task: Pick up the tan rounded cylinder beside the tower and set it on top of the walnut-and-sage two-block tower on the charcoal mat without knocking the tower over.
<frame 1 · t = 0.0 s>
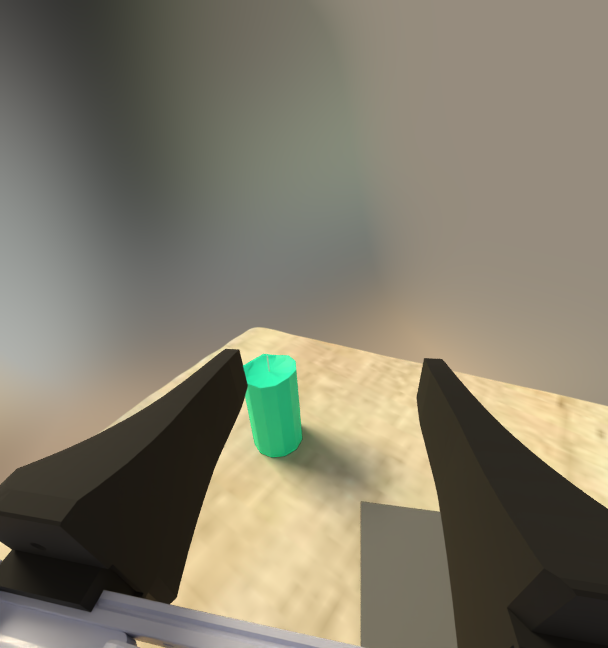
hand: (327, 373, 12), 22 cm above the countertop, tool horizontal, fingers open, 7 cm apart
candle: (278, 437, 36), on the countertop
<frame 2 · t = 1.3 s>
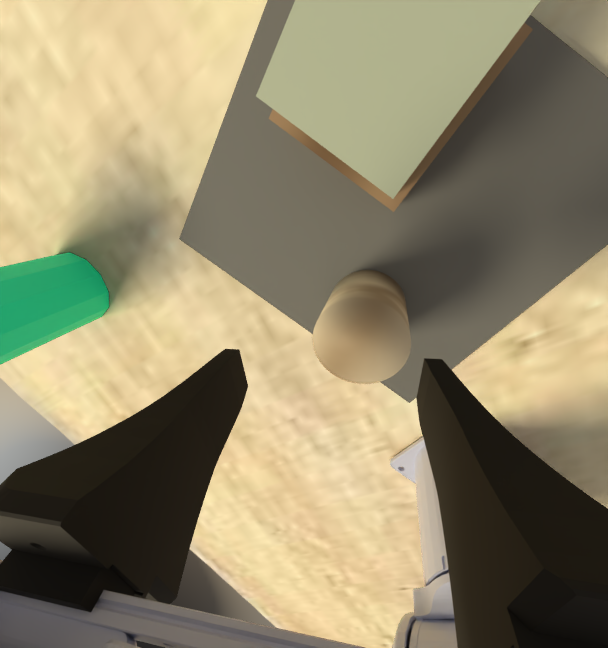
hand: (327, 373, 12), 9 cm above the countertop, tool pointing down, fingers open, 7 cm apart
candle: (82, 286, 25), on the countertop
tower top: (382, 80, 11), point 3 cm above the countertop, touching tower base
tan rounded cylinder: (366, 306, 19), resting on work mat
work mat: (379, 209, 17), on the countertop
tower base: (383, 98, 14), resting on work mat, touching tower top
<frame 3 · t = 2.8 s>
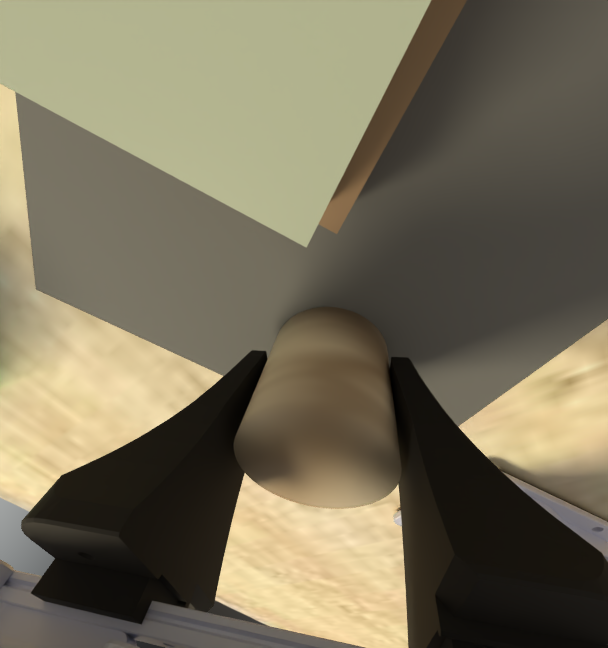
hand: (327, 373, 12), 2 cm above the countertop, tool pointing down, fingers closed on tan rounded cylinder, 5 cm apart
tan rounded cylinder: (329, 355, 12), resting on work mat, touching gripper
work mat: (323, 210, 10), on the countertop
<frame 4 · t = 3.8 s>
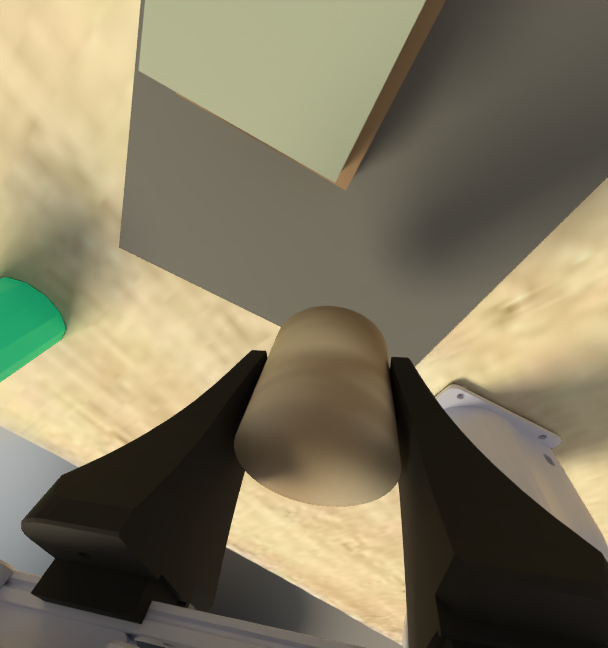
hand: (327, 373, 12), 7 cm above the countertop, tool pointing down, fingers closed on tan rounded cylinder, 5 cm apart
candle: (30, 310, 23), on the countertop
tower top: (304, 23, 9), point 3 cm above the countertop, touching tower base
tan rounded cylinder: (329, 354, 13), point 6 cm above the countertop, touching gripper
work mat: (334, 183, 14), on the countertop
tower base: (316, 47, 11), resting on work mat, touching tower top
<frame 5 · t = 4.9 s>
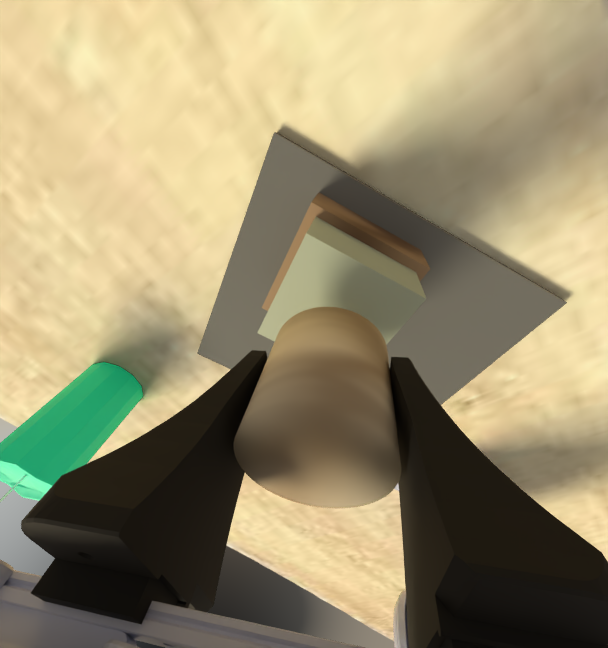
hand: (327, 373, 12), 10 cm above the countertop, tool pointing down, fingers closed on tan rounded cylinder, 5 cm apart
candle: (117, 382, 31), on the countertop
tower top: (338, 290, 17), point 3 cm above the countertop, touching tower base
tan rounded cylinder: (329, 355, 12), point 9 cm above the countertop, touching gripper
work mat: (349, 328, 22), on the countertop
tower base: (341, 270, 19), resting on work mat, touching tower top
when the fingers open (9 cm above the countertop, at t = 5.8 s): tan rounded cylinder stays where it is, resting on tower top.
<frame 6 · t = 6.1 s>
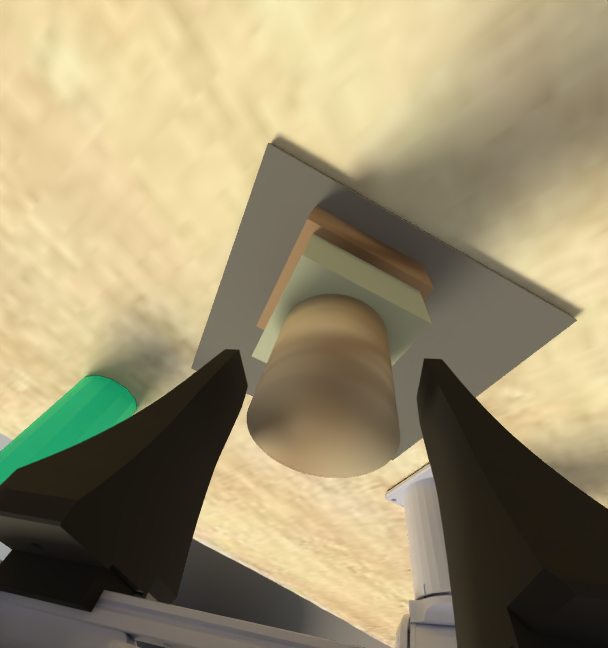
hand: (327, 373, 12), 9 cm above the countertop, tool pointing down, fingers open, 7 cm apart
candle: (110, 395, 30), on the countertop
tower top: (337, 308, 16), point 3 cm above the countertop, touching tan rounded cylinder, tower base
tan rounded cylinder: (333, 340, 13), point 6 cm above the countertop, touching tower top
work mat: (349, 344, 21), on the countertop
tower base: (339, 285, 18), resting on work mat, touching tower top
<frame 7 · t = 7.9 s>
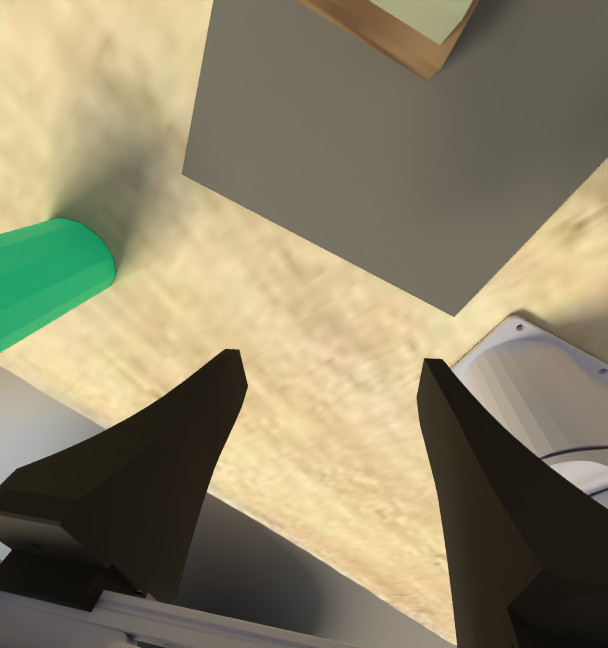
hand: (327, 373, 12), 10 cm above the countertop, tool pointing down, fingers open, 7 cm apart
candle: (82, 255, 23), on the countertop
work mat: (409, 89, 14), on the countertop
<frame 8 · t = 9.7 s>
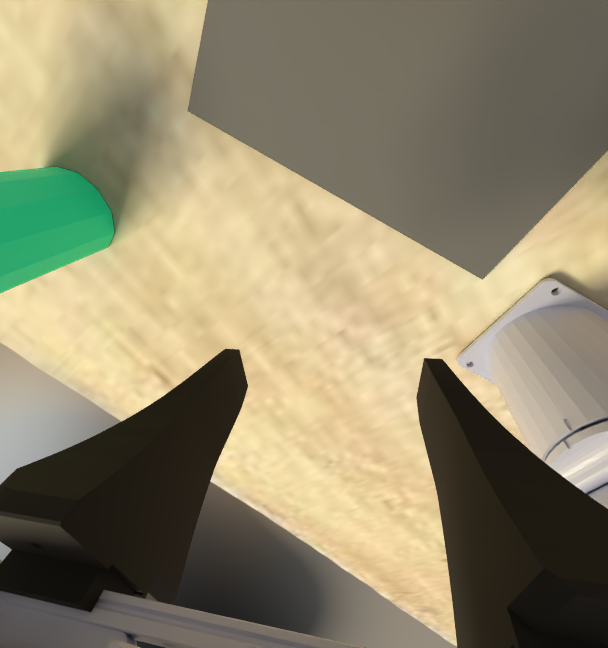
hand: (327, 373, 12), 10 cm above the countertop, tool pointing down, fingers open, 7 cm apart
candle: (78, 211, 22), on the countertop
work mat: (448, 1, 13), on the countertop
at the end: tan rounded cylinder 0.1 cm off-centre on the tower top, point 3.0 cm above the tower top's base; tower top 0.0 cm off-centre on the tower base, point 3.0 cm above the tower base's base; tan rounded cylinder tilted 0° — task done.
